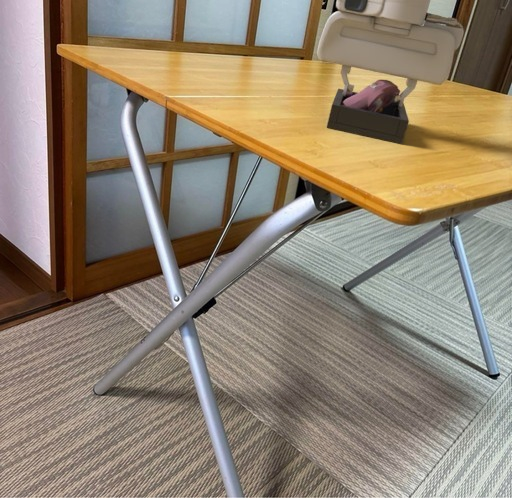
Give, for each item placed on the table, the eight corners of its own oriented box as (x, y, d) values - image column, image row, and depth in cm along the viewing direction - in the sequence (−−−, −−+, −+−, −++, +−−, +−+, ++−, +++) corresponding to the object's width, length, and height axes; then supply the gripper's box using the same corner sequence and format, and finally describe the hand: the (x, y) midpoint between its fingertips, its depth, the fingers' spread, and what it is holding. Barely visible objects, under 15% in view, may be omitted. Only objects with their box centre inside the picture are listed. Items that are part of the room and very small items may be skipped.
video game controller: (355, 128, 80) (385, 93, 75) (336, 108, 81) (364, 71, 76) (381, 122, 87) (410, 89, 83) (363, 103, 88) (390, 70, 84)
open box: (397, 122, 90) (403, 102, 88) (401, 144, 76) (409, 120, 75) (333, 108, 91) (338, 88, 89) (326, 127, 77) (332, 104, 76)
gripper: (464, 20, 77) (434, 111, 83) (331, -6, 79) (311, 85, 86) (471, 21, 72) (438, 119, 78) (327, -7, 74) (307, 91, 80)
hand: (371, 101), depth 82 cm, fingers closed on video game controller, 6 cm apart
